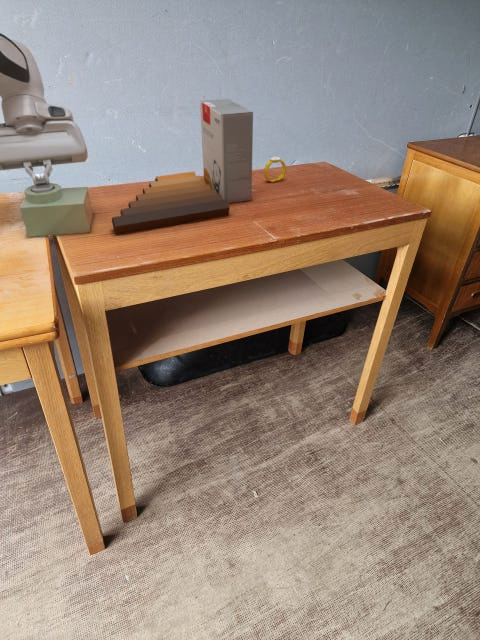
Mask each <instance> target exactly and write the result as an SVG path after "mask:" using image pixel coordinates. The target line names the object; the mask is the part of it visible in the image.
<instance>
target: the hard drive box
mask: <svg viewBox="0 0 480 640" xmlns="http://www.w3.org/2000/svg"><path fill="white" fill-rule="evenodd" d="M199 105H200V124H201V125H200V126H201V148H202V169H203V171H202V172H203V180H204V181H205V184H206V185H207V184H209V185H210V188H211V189H215V191H216V194H221V197H222V199H223V200H224V199H227V202H228V204H234V203H241V202H247V201H252V190H253V189H252V188H253V141H254V139H253V138H254V137H253V136H254V135H253V134H254V127H253V126H254V111H252V110H250V109H248V108H246V107H245V106H243V105H241V104H239V103H237V102H235V101H233V100H232V99H229V98H223V99H208V100H200V101H199Z"/></svg>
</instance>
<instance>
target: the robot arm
mask: <svg viewBox="0 0 480 640" xmlns="http://www.w3.org/2000/svg"><path fill="white" fill-rule="evenodd" d="M44 86H45V85H44V83H43V78H42V76H41V72H40V69H39V65H38V64H37V61H36V59H35V58H34V55H33V53H32V52H31V51H30V49H29V47H27V46H26V45H24V44H23V43H21V42H19V41H17V40H13V39H10V38H9V37H7V36H6V35H5V34H2V33H1V32H0V98H1V113H2V117H3V120H4V122H3V123H2V122H1V123H0V171H8V170H9V171H10V170H19V169H25V173H26V174H27V175H28V176H30V178H31V179H32V181H33V185H35V186H39V185H49V184H50V183H51V181H50V176H51V174H52V171H53V166H58V165H67V164H77V163H85V162H86V161H87V160H88V158H89V153H88V148H87V144H86V140H85V138H84V136H83V133H82V131H81V128H80V127H79V125H78V124H77V123H76V122H75V121H74V117H73V113H72V111H71V109H70V108H67V107H65V106H58V105H54V104H50V103H48V102H47V101H46V100H45V87H44ZM36 167H37V168H38V167H39V168H40V167H44V171H43V172H41V173H35V172H34V168H36Z"/></svg>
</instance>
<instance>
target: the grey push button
mask: <svg viewBox="0 0 480 640" xmlns="http://www.w3.org/2000/svg"><path fill="white" fill-rule="evenodd" d="M51 190H53V185H51V184H49V185H39V186H33V187H32V191H33V192H34V193H44V192H49V191H51Z"/></svg>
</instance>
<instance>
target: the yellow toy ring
mask: <svg viewBox="0 0 480 640" xmlns="http://www.w3.org/2000/svg"><path fill="white" fill-rule="evenodd" d="M273 163H276V164H277V163H280V164H281V168H282V169H281V173H280V175H279V176H277V177H276V178H272V179H270V177H269V168H270V166H271V165H273ZM286 165H287V164H286V163H285V162H284V160H282V158H281V157H279V156H272V157H269V160H268V161H267V163H265V166H264V169H263V175H264V177H265V179H266V180H267V181H268V182H270V183H275V182H280V181H282V180H283V179H284V177H285V175H286V172H287V166H286Z"/></svg>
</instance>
